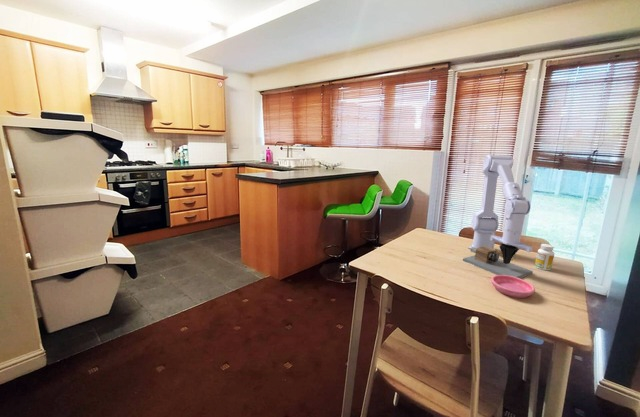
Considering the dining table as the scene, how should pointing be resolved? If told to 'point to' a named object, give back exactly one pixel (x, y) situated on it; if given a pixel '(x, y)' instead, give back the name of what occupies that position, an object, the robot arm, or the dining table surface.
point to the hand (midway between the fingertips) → (506, 263)
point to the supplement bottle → (544, 257)
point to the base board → (499, 267)
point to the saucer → (512, 286)
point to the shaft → (493, 256)
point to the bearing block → (484, 254)
